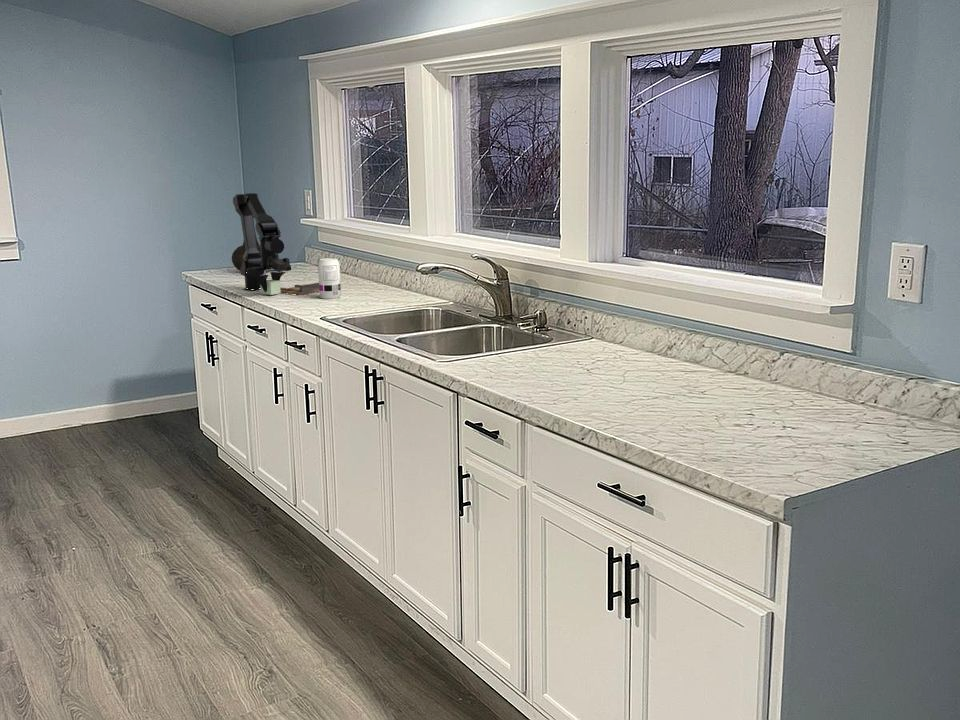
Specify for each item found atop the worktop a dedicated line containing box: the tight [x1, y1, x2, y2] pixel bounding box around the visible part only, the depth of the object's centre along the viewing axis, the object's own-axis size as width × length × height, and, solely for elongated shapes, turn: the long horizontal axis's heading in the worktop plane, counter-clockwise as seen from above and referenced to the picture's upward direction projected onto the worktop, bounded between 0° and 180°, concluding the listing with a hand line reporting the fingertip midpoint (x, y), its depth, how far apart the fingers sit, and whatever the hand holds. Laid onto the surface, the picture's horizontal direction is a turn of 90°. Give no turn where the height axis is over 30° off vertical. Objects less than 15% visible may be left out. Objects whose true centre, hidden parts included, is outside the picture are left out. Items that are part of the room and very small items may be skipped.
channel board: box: [280, 282, 320, 296], centre depth 384 cm, size 14×13×4 cm
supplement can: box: [317, 257, 342, 300], centre depth 368 cm, size 8×8×15 cm
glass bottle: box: [231, 214, 261, 271], centre depth 448 cm, size 18×18×28 cm
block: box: [260, 279, 281, 296], centre depth 378 cm, size 6×5×5 cm
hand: (270, 290), depth 378 cm, fingers closed on block, 5 cm apart
